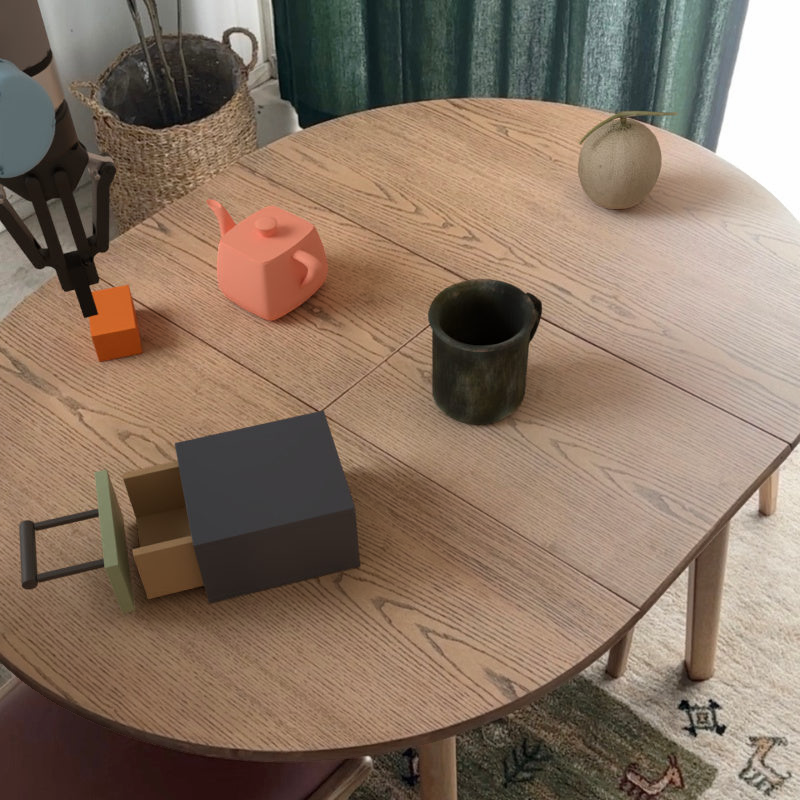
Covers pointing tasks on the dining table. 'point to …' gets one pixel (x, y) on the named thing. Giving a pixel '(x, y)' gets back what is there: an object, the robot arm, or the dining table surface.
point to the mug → (481, 348)
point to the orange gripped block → (115, 324)
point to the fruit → (620, 160)
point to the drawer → (157, 530)
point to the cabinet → (267, 506)
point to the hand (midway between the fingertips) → (88, 308)
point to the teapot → (269, 260)
